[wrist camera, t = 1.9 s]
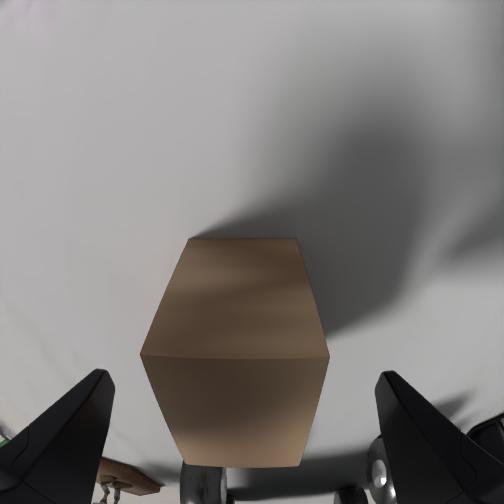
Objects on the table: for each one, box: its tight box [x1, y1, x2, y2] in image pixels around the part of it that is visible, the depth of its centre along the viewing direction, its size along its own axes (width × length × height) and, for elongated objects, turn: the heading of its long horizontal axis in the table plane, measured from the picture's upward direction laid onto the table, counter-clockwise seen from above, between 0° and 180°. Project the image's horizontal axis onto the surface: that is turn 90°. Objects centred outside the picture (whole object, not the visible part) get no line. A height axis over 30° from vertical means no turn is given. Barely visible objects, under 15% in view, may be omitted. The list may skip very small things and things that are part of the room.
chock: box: [140, 238, 330, 468], centre depth 10 cm, size 4×6×6 cm, turn 0°
